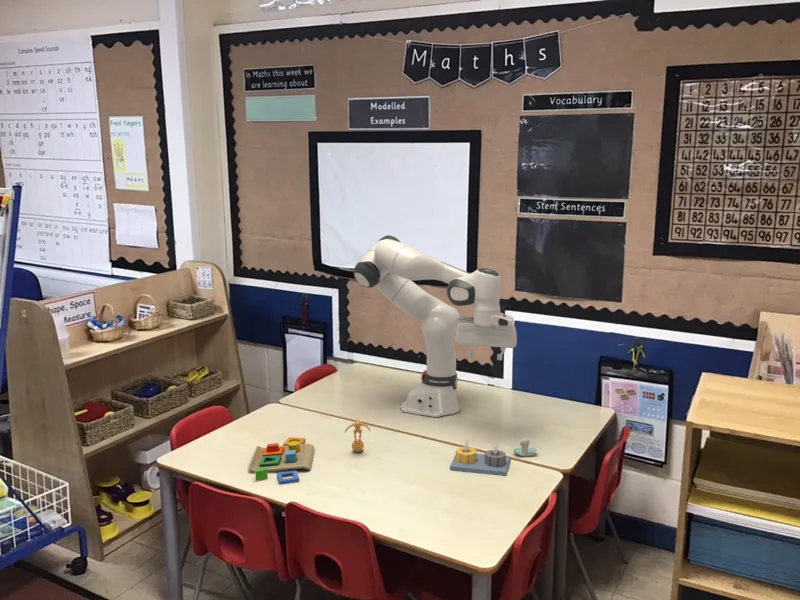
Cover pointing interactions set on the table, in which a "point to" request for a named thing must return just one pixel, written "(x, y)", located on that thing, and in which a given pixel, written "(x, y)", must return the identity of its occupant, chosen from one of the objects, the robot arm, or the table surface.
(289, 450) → the shape sorter
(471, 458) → the ochre gear
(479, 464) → the gear board
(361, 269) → the robot arm
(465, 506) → the table surface
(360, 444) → the figurine
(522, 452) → the pacifier
